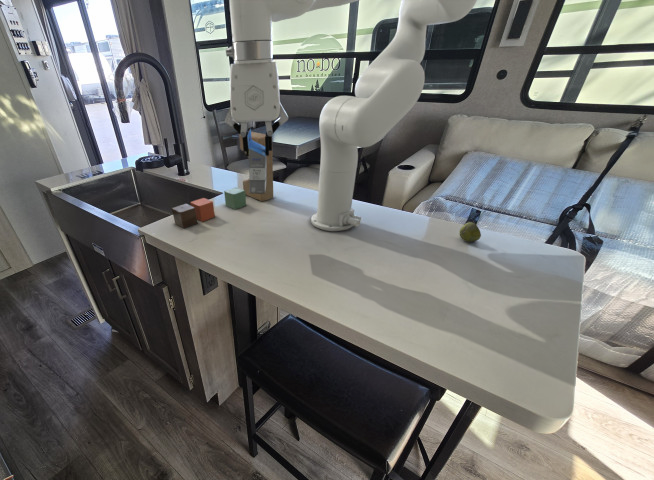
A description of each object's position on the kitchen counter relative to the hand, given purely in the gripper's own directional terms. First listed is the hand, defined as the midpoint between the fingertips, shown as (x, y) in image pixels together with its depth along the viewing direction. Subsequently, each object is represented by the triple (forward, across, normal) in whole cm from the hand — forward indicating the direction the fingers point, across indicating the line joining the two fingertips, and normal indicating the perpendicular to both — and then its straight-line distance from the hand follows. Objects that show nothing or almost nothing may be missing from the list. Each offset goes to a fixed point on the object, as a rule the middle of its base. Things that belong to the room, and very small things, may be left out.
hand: (258, 153), depth 71 cm
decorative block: (+22, -4, +34) cm, 41 cm away
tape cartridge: (+8, 0, 0) cm, 8 cm away
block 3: (+22, -10, +25) cm, 35 cm away
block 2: (+22, -20, +16) cm, 33 cm away
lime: (+23, +53, -2) cm, 57 cm away
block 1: (+22, -24, +11) cm, 34 cm away
